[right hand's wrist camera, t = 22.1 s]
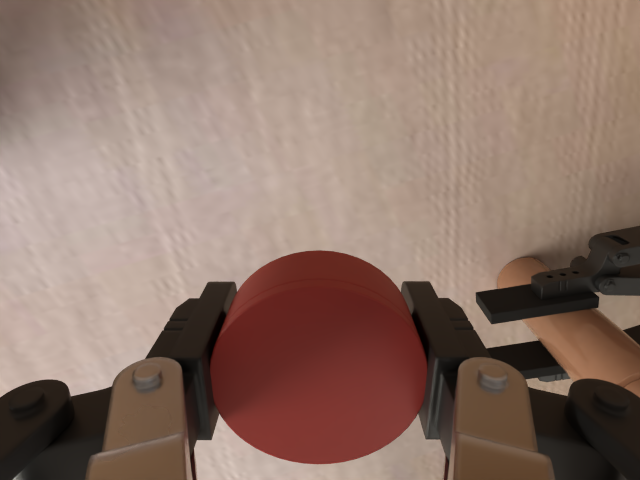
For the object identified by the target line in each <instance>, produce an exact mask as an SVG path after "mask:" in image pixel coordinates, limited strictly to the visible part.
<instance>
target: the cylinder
mask: <svg viewBox="0 0 640 480" xmlns="http://www.w3.org/2000/svg"><path fill="white" fill-rule="evenodd" d="M545 271H551V270H550V269H549V268H548V267H547V266H546V265H544V264H543V263H542V262H541V261H539V260H537V259H535V258H529V257H525V258H519V259H516V260H514V261H512V262H510V263H509V264H507V265H506V266H505V267H504V268H503V269H502V271H501V272H500V274H499V277H498V281H497V287H498V289H501V288H507V287H513V286H519V285H526V284H531V276H533V275H535V274H537V273H539V272H545ZM522 320H523V322H524V323H525V324H526V325H527V326H528V328H529V329H530V330H531V331H532V332H533V334H534V335H535V336H536V337H537V338H538V340H539V341H540V342H541V343H542V344H543V346H544V347H545V348H546V349H547V350H548V352H549V353H550V354H551V355H552V356H553V358H554V359H555V360H556V361H557V362H558V364H559V365H560V366H561V367H562V368H563V370H564V371H565V372H566V373H567V374H568V376H569V377H570V378H571V379H572V380H573V382H575V381H577V380H580V379H586V378H592V379H600V380H605V381H608V382H611V383H614V384H617V385H619V386H621V387H623V388H626V389H627V390H629V391H631V392H632V393H634V394H635V395H637V396H638V397H640V344H638V343H637V342H636V341H635V340H634V339H632V338H631V337H630V336H629V335H628V334H626V333H625V332H624V331H623V330H622V329H620V328H619V327H618V326H617V325H616V324H615V323H613V322H612V321H611V320H610V319H609V318H607V317H606V316H605V315H604V314H603V313H601V312H600V311H599V310H598V309H597V308H593V309H586V310H580V311H573V312H567V313H561V314H554V315H548V316H541V317H535V318H528V319H522Z"/></svg>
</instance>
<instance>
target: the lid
mask: <svg viewBox="0 0 640 480" xmlns="http://www.w3.org/2000/svg"><path fill="white" fill-rule="evenodd" d="M427 367H428V361H427V358H426V354H425V350H424V348H423V345H422V342H421V340H420V337H419V334H418V332H417V329H416V327H415V324H414V321H413V319H412V316H411V313H410V311H409V308H408V306H407V303H406V301H405V299H404V297H403V295H402V294H401V292H400V291H399V289H398V287H397V286H396V285H395V284H394V283H393V282H392V280H391V279H390V278H389V277H388V276H386V275H385V274H384V273H383V272H382V271H381V270H379V269H378V268H376V267H375V266H373V265H371V264H370V263H368V262H366V261H364V260H362V259H359V258H357V257H354V256H351V255H348V254H344V253H338V252H333V251H305V252H299V253H294V254H290V255H287V256H284V257H281V258H278V259H276V260H274V261H272V262H270V263H268V264H266V265H265V266H263V267H261V268H260V269H258V270H257V271H256V272H255V273H254V274H252V275H251V276H250V277H249V278H248V279H247V280H246V281H245V282H244V283H243V284H242V286H241V287H240V289H239V290H238V292H237V293H236V295H235V297H234V299H233V301H232V303H231V305H230V308H229V310H228V313H227V315H226V318H225V320H224V323H223V325H222V328H221V331H220V333H219V336H218V338H217V341H216V343H215V346H214V349H213V352H212V355H211V359H210V374H211V382H212V390H213V398H214V403H215V406H216V408H217V410H218V411H219V413H220V415H221V417H222V418H223V419H224V421H225V422H226V424H227V425H228V426H229V427H230V428H231V429H232V430H233V431H234V432H235V433H236V434H237V435H238V436H239V437H240V438H242V439H243V440H244V441H245V442H247V443H248V444H250V445H252V446H253V447H255V448H256V449H258V450H261V451H263V452H265V453H267V454H269V455H272V456H275V457H277V458H280V459H284V460H288V461H292V462H299V463H306V464H332V463H339V462H345V461H349V460H354V459H357V458H360V457H363V456H366V455H369V454H371V453H373V452H375V451H377V450H379V449H381V448H383V447H384V446H386V445H388V444H389V443H391V442H392V441H393V440H395V439H396V438H397V437H398V436H400V435H401V434H402V433H403V432H404V431H405V430H406V429H407V428H408V427H409V425H410V424H411V423H412V422H413V420H414V419H415V418H416V416H417V414H418V412H419V411H420V409H421V407H422V404H423V401H424V394H425V386H426V377H427Z"/></svg>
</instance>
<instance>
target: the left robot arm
mask: <svg viewBox="0 0 640 480" xmlns="http://www.w3.org/2000/svg"><path fill="white" fill-rule="evenodd" d="M588 245H589V248H590V249H591V252H590V254H589V256H588V258H587V259H585V258H584V257H582V256H578V257H576V258H574V259H573V260H572V262H571V264H570V268H564V269H558V270H551V271H545V272H539V273H537V274H535V275H533V276H531V284H526V285H519V286H513V287H507V288H501V289H494V290H488V291H482V292H476V302H477V304H478V305H479V307H480V308H481V310H482V311H483V313H484V314H485V315H486V317H487V318H488V320H489V321H490V323H491V324H496V323H503V322H509V321H516V320H522V319H528V318H535V317H541V316H548V315H554V314H561V313H567V312H573V311H580V310H586V309H593V308H598V304H599V297H598V296H597V295H596V294H595V293H594V292H601V293H602V294H604V295H634V296H640V226H637V227H632V228H626V229H621V230H616V231H611V232H606V233H601V234H597V235H594V236H593V237H592V238H591V239H590V241H589V244H588ZM623 331H624V332H625V333H626V334H628V335H629V336H630V337H631V338H632V339H634V340H635V341H636V342H637V343H638V344H640V325H638V326H635V327H632V328H628V329H625V330H623ZM486 349H487V351H488V353H489V354H490V356H491V358H492V359H496V360H499V361H502V362H504V363H507V364H509V365H510V366H512V367H514V368H515V369H516V370H518V371H519V372H520V373H521V374H522V375H523V377H524V378H525V379H531V378H538V379H539V380H540V381H544V382H550V381H555V380H556V381H557V380H561V379H562V380H564V379H571V378H570V377H569V376H568V374H567V373H566V372H565V371H564V370H563V368H562V367H561V366H560V365H559V364H558V362H557V361H556V360H555V359H554V358H553V356H552V355H551V354H550V353H549V352H548V350H547V349H546V348H545V347H544V346H543V344H542V343H541V342H540V341H532V342H526V343H519V344H513V345H506V346H500V347H493V348H486Z"/></svg>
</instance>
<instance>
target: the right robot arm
mask: <svg viewBox="0 0 640 480" xmlns="http://www.w3.org/2000/svg"><path fill="white" fill-rule="evenodd" d="M236 293H237V289H236V284H235V282H208V283H207V285H206V287H205V289H204V291H203V292H202V294H201V296H200V298H189V299H188V300H187V301H185V302H184V303H183V304H181V305H180V306H178V307H177V308H176V309H175V311H174V313H173V314H172V316H171V318H170V321H168V322H167V324H166V326H165V327H164V331H162V332H161V334H160V335H159V337H158V339H157V340H156V342H155V344H154V345H153V347H152V348H151V350H150V352H149V353H148V355H147V357H146V358H145V359H144V360H141V361H138V362H136V363H133V364H131V365H130V366H128V367H126V368H125V369H124V370H122V371H121V372H120V373H119V374H118V375H117V377H116V378H115V380H114V382H113V385H112V387H109V388H106V389H102V390H98V391H94V392H89V393H85V394H80V395H76V396H70V392H69V389H68V386H67V385H66V384H65V383H63V382H62V381H58V380H40V381H35V382H31V383H28V384H25V385H22V386H20V387H18V388H15V389H13V390H11V391H10V392H8V393H6V394H5V395H3V396H2V397H0V480H197V469H196V460H195V453H194V447H195V444H196V441H197V440H212V436H213V433H214V430H215V426H216V423H217V419H218V416H219V411H218V410H217V408H216V406H215V403H214V398H213V390H212V382H211V374H210V359H211V355H212V352H213V349H214V346H215V343H216V341H217V338H218V336H219V333H220V331H221V328H222V325H223V323H224V320H225V318H226V315H227V313H228V310H229V308H230V305H231V303H232V301H233V299H234V297H235V295H236ZM401 294H402V295H403V297H404V299H405V301H406V303H407V306H408V308H409V311H410V313H411V316H412V319H413V321H414V324H415V327H416V329H417V332H418V334H419V337H420V340H421V342H422V345H423V348H424V350H425V354H426V358H427V361H428V367H427V377H426V386H425V394H424V401H423V404H422V407H421V409H420V411H419V412H418V414H419V417H420V421H421V424H422V428H423V431H424V435H425V438H426V439H440V440H441V443H442V446H443V449H444V452H445V460H444V469H443V480H640V397H638V396H637V395H635V394H634V393H632V392H631V391H629V390H627V389H626V388H623V387H621V386H619V385H617V384H614V383H611V382H608V381H605V380H600V379H592V378H586V379H580V380H577V381H575V382H573V383H572V384H571V386H570V389H569V393H568V396H564V395H560V394H555V393H551V392H546V391H541V390H537V389H533V388H530V387H528V385H527V382H526V380H525V378H524V377H523V375H522V374H521V373H520V372H519V371H518V370H516V369H515V368H514V367H512V366H510V365H509V364H507V363H504V362H502V361H499V360H496V359H492V358H491V356H490V354H489V353H488V351H487V349H486V348H485V346H484V344H483V343H482V341H481V339H480V338H479V336H478V334H477V333H476V331H475V330H474V329H473V326H472V325H471V323H470V321H468V318H467V316H466V315H465V313H464V311H463V310H462V308H461V307H460V306H458V305H457V304H456V303H454V302H453V301H451V300H450V299H449V298H438V297H437V295H436V293H435V291H434V289H433V287H432V285H431V283H430V282H429V281H404V282H403V283H402V288H401Z"/></svg>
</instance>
